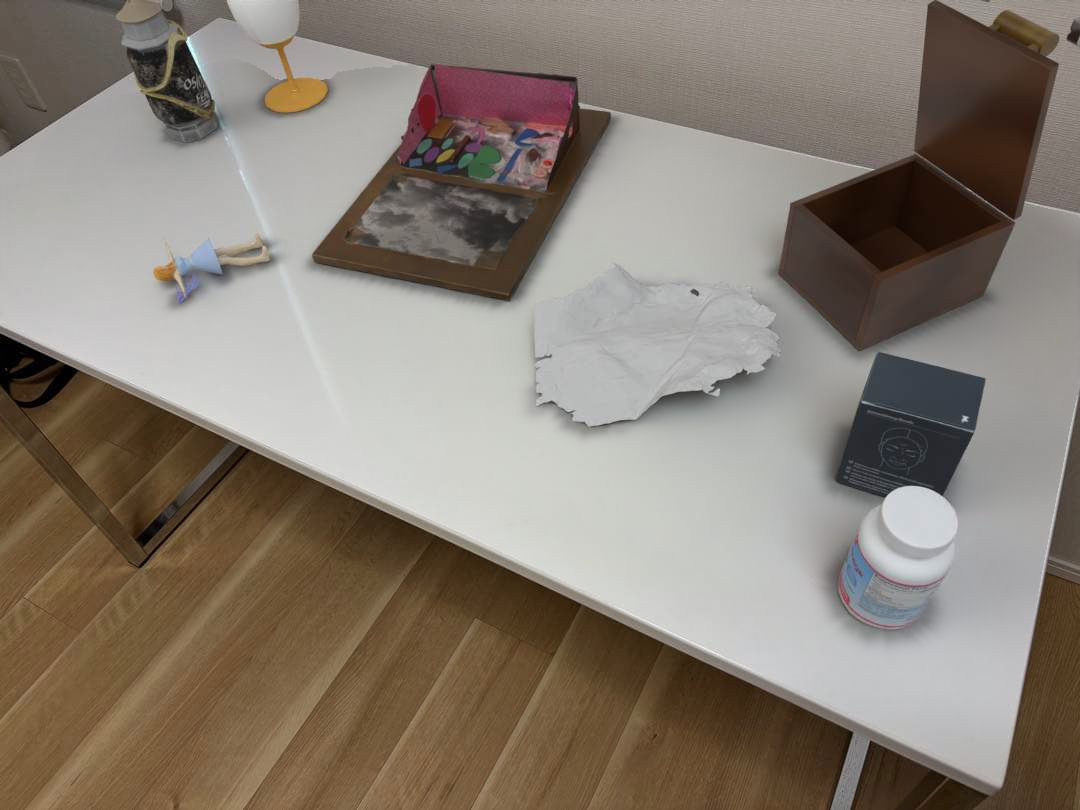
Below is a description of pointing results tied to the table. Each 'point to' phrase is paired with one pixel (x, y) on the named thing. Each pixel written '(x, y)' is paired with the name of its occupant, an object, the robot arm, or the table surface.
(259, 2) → the cup
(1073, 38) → the robot arm
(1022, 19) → the chest lid
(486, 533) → the table surface
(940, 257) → the chest
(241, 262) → the fairy figurine
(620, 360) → the paper
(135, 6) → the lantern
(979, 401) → the box
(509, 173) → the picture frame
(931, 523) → the pill bottle
